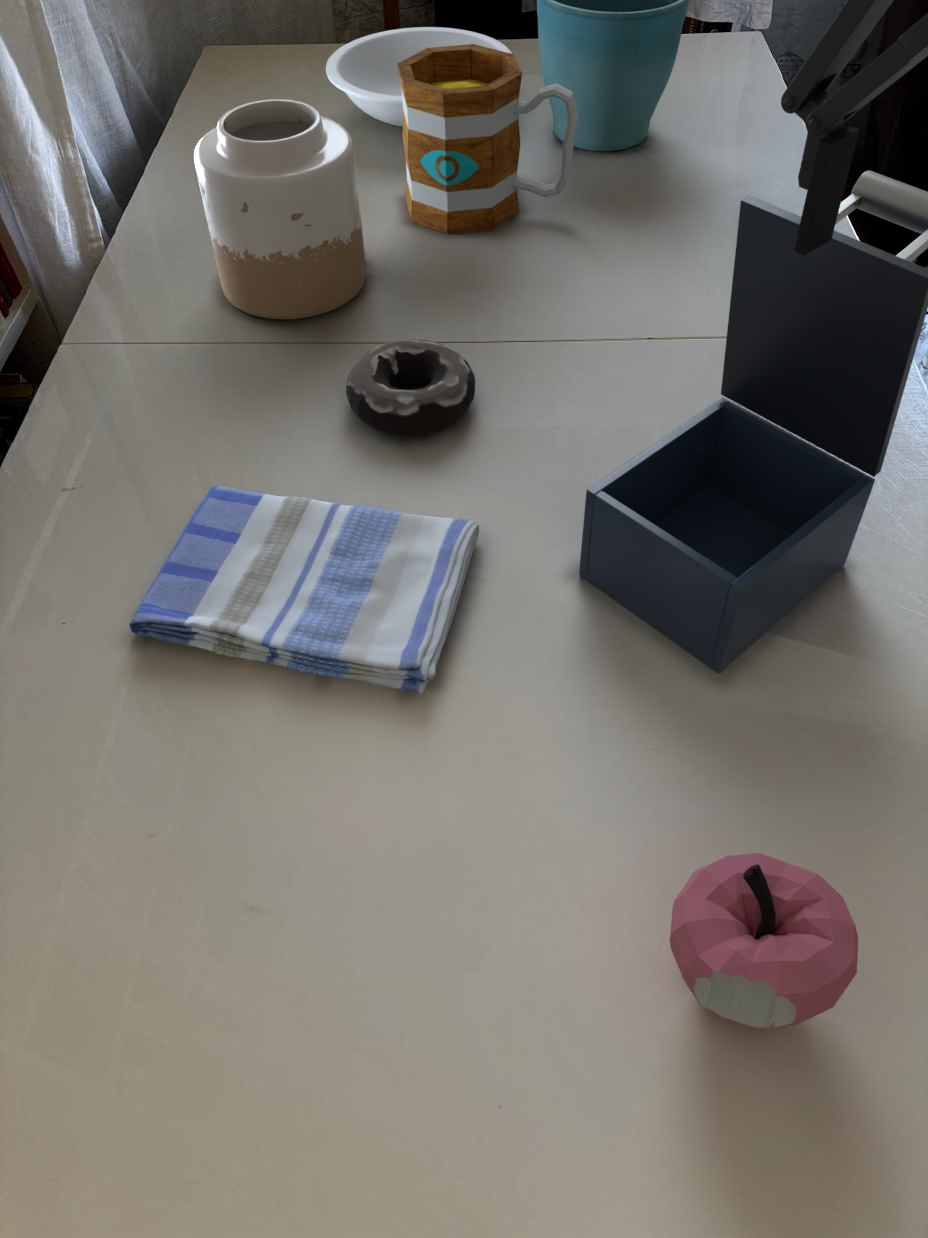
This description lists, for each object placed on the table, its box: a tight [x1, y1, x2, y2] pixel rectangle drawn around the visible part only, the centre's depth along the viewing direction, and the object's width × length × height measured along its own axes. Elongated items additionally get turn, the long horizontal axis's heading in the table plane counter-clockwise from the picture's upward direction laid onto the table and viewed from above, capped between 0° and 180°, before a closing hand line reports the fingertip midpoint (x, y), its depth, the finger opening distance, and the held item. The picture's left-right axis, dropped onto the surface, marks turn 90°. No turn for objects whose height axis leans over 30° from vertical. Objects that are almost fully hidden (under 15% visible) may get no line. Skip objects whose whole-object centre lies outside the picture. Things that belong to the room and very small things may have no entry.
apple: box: [669, 852, 859, 1029], centre depth 55 cm, size 10×9×10 cm
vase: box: [193, 98, 367, 320], centre depth 104 cm, size 15×15×17 cm
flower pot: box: [536, 0, 690, 152], centre depth 126 cm, size 18×18×17 cm
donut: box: [345, 338, 476, 437], centre depth 94 cm, size 12×12×4 cm
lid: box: [720, 169, 928, 478], centre depth 72 cm, size 16×14×10 cm
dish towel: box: [129, 484, 480, 695], centre depth 79 cm, size 17×24×3 cm
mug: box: [398, 44, 578, 235], centre depth 114 cm, size 20×14×15 cm
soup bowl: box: [325, 26, 513, 127], centre depth 134 cm, size 24×24×7 cm
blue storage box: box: [578, 397, 876, 674], centre depth 77 cm, size 16×14×9 cm
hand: (913, 289), depth 58 cm, fingers open, 13 cm apart
